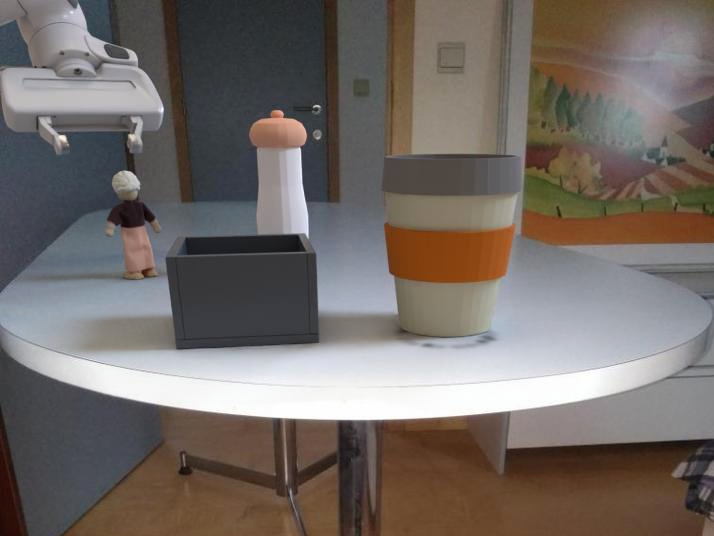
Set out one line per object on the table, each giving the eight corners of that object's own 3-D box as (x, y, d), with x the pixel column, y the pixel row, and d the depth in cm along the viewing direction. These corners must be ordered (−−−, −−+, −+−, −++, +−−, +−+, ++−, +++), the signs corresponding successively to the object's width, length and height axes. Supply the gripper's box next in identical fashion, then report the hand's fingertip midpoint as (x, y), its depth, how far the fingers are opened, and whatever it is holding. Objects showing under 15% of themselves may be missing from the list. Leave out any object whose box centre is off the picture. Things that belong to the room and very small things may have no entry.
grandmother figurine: (149, 270, 97) (136, 168, 92) (170, 273, 96) (157, 169, 90) (105, 280, 91) (87, 172, 86) (126, 283, 90) (109, 172, 84)
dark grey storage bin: (176, 349, 63) (165, 257, 60) (186, 315, 74) (177, 236, 71) (319, 342, 65) (316, 252, 61) (308, 310, 76) (305, 233, 73)
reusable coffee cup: (420, 305, 78) (424, 153, 71) (530, 319, 72) (546, 154, 65) (355, 330, 69) (353, 157, 62) (475, 349, 62) (488, 160, 56)
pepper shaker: (246, 272, 96) (234, 110, 88) (290, 265, 101) (282, 111, 92) (279, 279, 91) (270, 109, 83) (323, 272, 96) (319, 110, 87)
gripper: (-17, 44, 89) (14, 132, 86) (146, 51, 99) (179, 130, 96) (-13, 87, 95) (16, 171, 92) (141, 89, 104) (172, 166, 101)
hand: (101, 150), depth 94 cm, fingers open, 8 cm apart
